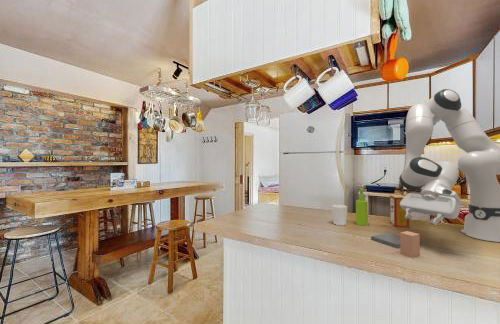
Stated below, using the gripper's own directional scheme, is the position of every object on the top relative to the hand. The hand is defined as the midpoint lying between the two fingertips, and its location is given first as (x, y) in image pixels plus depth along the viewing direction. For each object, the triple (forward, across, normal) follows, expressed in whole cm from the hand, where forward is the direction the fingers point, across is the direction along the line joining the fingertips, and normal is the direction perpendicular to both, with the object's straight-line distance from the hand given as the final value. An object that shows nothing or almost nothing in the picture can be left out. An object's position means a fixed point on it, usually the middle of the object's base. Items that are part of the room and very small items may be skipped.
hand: (419, 221), depth 96 cm
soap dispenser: (0, -37, +16) cm, 41 cm away
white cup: (+8, -43, +9) cm, 45 cm away
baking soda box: (-11, -27, +28) cm, 40 cm away
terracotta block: (+14, +1, +2) cm, 14 cm away
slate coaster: (+8, -11, +8) cm, 16 cm away
